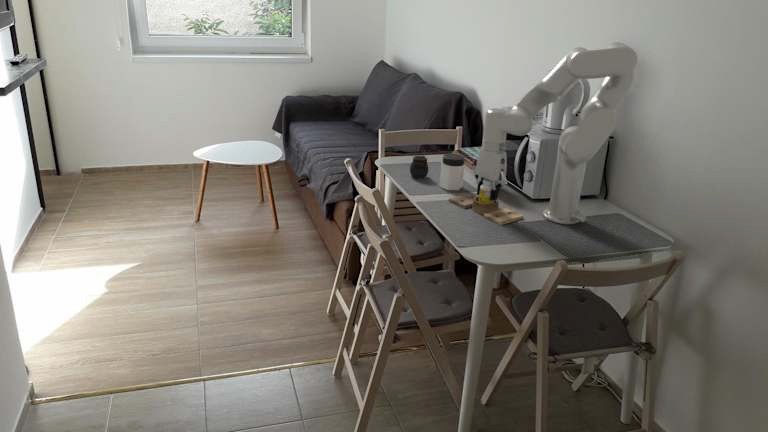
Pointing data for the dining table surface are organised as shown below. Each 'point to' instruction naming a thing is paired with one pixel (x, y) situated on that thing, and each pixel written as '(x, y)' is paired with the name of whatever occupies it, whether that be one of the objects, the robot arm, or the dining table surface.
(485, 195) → the supplement bottle
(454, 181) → the jar
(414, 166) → the mate gourd
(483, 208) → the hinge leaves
